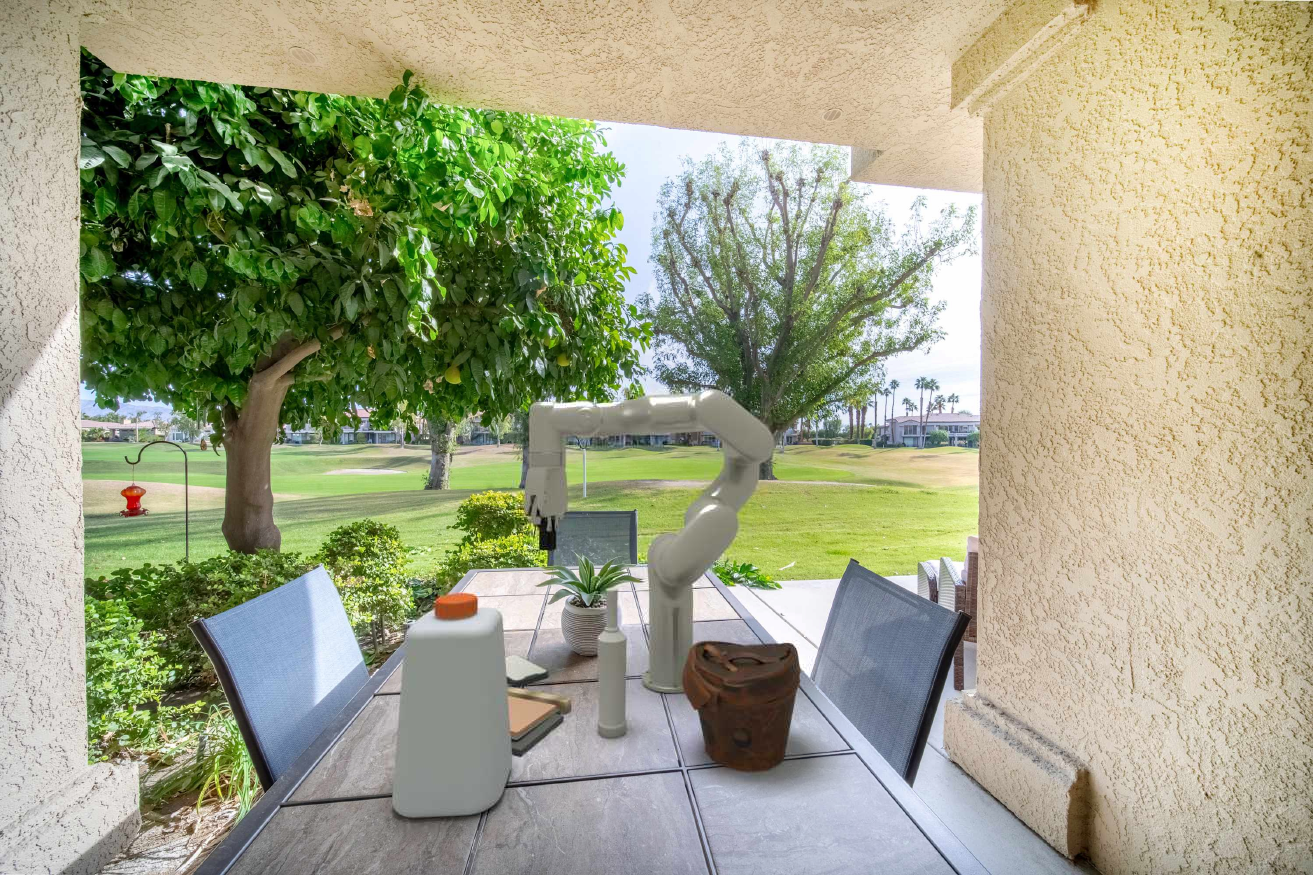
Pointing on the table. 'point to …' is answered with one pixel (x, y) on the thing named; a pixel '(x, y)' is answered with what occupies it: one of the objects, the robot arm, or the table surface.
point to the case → (743, 700)
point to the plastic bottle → (453, 712)
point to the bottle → (612, 672)
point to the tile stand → (542, 699)
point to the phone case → (523, 671)
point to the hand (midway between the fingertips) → (547, 549)
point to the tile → (527, 715)
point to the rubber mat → (535, 735)
